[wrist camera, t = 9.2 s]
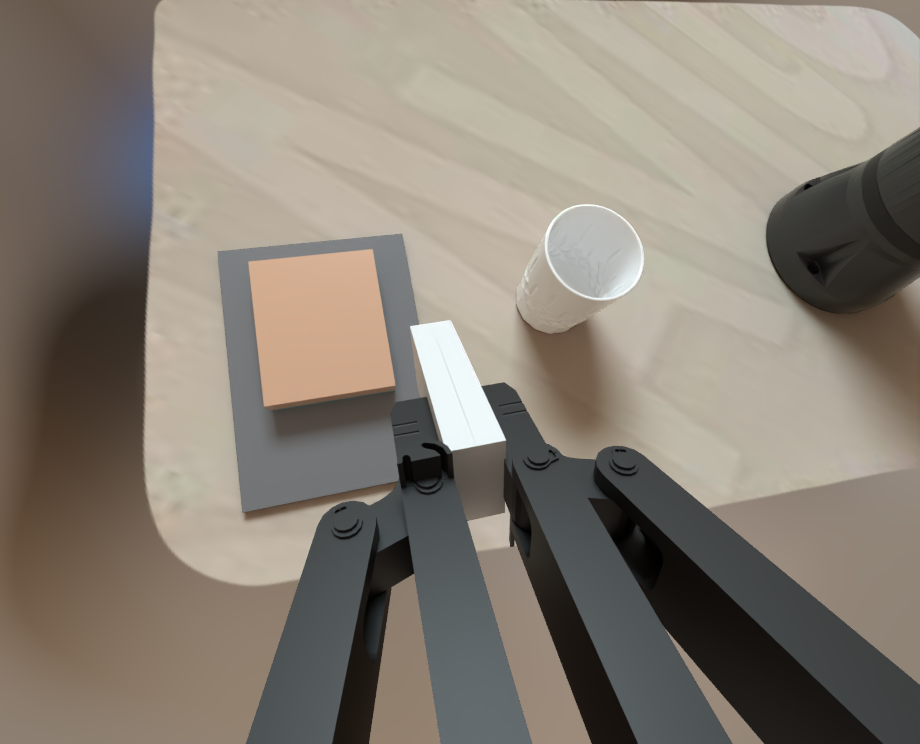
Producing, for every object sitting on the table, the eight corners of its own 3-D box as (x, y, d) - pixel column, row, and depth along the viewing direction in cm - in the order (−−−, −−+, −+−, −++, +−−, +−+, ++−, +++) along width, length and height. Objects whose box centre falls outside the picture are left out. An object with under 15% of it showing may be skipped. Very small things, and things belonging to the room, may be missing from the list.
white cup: (600, 323, 43) (662, 281, 33) (530, 352, 41) (573, 315, 31) (566, 253, 44) (615, 192, 34) (496, 278, 42) (527, 220, 32)
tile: (395, 385, 35) (372, 248, 37) (264, 406, 33) (248, 261, 35) (395, 390, 38) (373, 262, 40) (272, 410, 36) (257, 274, 38)
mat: (444, 471, 37) (445, 471, 37) (245, 511, 34) (242, 512, 34) (401, 237, 41) (402, 233, 41) (220, 254, 38) (217, 251, 38)
